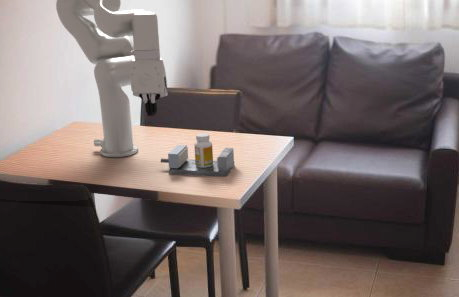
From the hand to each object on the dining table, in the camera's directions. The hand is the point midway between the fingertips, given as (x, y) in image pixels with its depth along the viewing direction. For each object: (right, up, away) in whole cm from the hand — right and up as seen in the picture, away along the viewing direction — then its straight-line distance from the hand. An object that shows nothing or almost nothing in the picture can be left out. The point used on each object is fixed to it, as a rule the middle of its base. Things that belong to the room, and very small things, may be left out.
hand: (151, 114), depth 208 cm
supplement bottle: (+16, -16, +1) cm, 22 cm away
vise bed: (+15, -17, +1) cm, 23 cm away
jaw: (+6, -15, +3) cm, 16 cm away
